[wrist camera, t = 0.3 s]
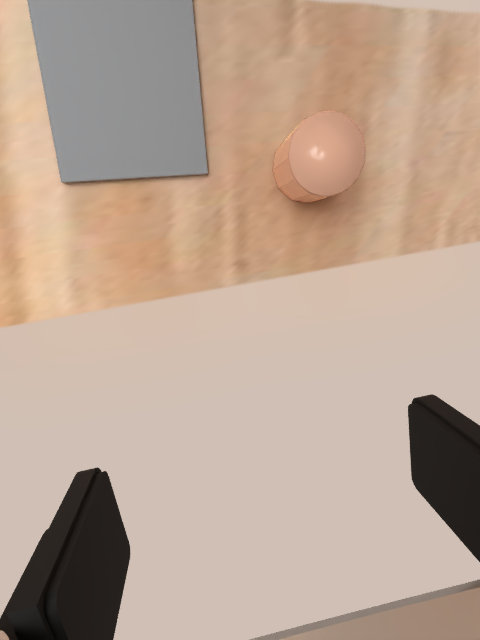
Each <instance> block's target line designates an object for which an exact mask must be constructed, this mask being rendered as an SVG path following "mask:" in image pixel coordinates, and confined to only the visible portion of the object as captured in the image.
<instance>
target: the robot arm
mask: <svg viewBox="0 0 480 640" xmlns="http://www.w3.org/2000/svg"><path fill="white" fill-rule="evenodd" d="M408 417H409V436H410V455H411V472H412V480H413V483H414V485H415V487H416V489H417V490H418V491H419V492H420V494H421V495H422V496H423V497H424V498H425V499H426V501H427V502H428V503H429V504H430V505H431V506H432V507H433V509H434V510H435V511H436V512H437V513H438V514H439V516H440V517H441V518H442V519H443V520H444V521H445V522H446V524H447V525H448V526H449V527H450V528H451V529H452V531H453V532H454V533H455V534H456V535H457V536H458V537H459V539H460V540H461V541H462V542H463V543H464V545H465V546H466V547H467V548H468V549H469V550H470V551H471V552H472V554H473V555H474V556H475V557H476V558H477V559H478V561H479V562H480V426H479V425H478V424H477V423H475V422H474V421H472V420H471V419H469V418H467V417H466V416H464V415H463V414H462V413H460V412H459V411H457V410H456V409H454V408H453V407H451V406H450V405H448V404H447V403H445V402H444V401H442V400H441V399H440V398H438V397H437V396H435V395H427V396H422V397H418V398H414V399H413V401H412V404H410V405H409V406H408ZM129 560H130V545H129V541H128V538H127V535H126V531H125V528H124V525H123V522H122V518H121V515H120V512H119V509H118V505H117V502H116V499H115V496H114V492H113V489H112V486H111V482H110V479H109V476H108V474H107V472H106V471H104V472H101V470H100V469H99V468H94V469H89V470H85V471H80V472H78V473H77V474H76V475H75V477H74V479H73V481H72V483H71V485H70V487H69V489H68V491H67V493H66V495H65V497H64V499H63V501H62V504H61V505H60V507H59V509H58V511H57V513H56V515H55V517H54V519H53V521H52V523H51V525H50V527H49V529H47V530H46V531H45V533H44V534H43V536H42V538H41V540H40V541H39V543H38V545H37V547H36V549H35V551H34V553H33V555H32V557H31V559H30V561H29V563H28V565H27V567H26V569H25V571H24V573H23V575H22V577H21V579H20V581H19V583H18V585H17V587H16V589H15V590H14V592H13V594H12V597H11V598H10V600H9V602H8V604H7V606H6V608H5V610H4V612H3V614H2V616H1V618H0V640H113V638H114V633H115V628H116V623H117V618H118V614H119V609H120V604H121V598H122V594H123V589H124V584H125V579H126V574H127V570H128V565H129ZM251 640H480V580H477V581H473V582H468V583H465V584H461V585H457V586H453V587H449V588H445V589H441V590H437V591H434V592H430V593H426V594H422V595H418V596H414V597H410V598H406V599H402V600H398V601H394V602H390V603H387V604H383V605H379V606H375V607H371V608H368V609H364V610H360V611H356V612H352V613H348V614H345V615H341V616H337V617H334V618H329V619H326V620H322V621H318V622H314V623H311V624H307V625H303V626H299V627H296V628H292V629H288V630H284V631H280V632H276V633H273V634H269V635H265V636H261V637H258V638H254V639H251Z"/></svg>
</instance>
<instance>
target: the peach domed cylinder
mask: <svg viewBox="0 0 480 640" xmlns="http://www.w3.org/2000/svg"><path fill="white" fill-rule="evenodd" d="M365 152H366V150H365V142H364V138H363V135H362V133H361V131H360V129H359V127H358V126H357V124H356V123H355V122H354V121H353V120H352V119H351V118H350V117H348V116H347V115H345V114H343V113H340V112H337V111H321V112H318V113H315V114H313V115H311V116H310V117H308V118H305V119H304V120H303V121H302V122H301V123H300V124H299V125H298V126H297V127H296V128H295V129H294V130H293V131H292V132H291V133H290V134H289V135H288V137H287V138H286V139H285V140H284V142H283V143H282V144H281V146H280V147H279V148H278V149H277V151H276V153H275V159H274V165H273V173H274V176H275V179H276V182H277V185H278V188H279V189H280V190H281V191H282V192H283V193H284V194H285V195H287V196H288V197H289V198H290V199H291V200H295V201H301V202H307V203H308V202H312V201H316V200H320V199H324V198H327V197H330V196H333V195H335V194H338V193H340V192H342V191H345V190H347V188H349V187H350V186H351V185H352V184H353V183H354V182H355V181H356V179H357V178H358V176H359V175H360V173H361V171H362V168H363V165H364V161H365Z"/></svg>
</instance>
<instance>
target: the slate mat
mask: <svg viewBox="0 0 480 640" xmlns="http://www.w3.org/2000/svg"><path fill="white" fill-rule="evenodd" d="M27 1H28V7H29V12H30V17H31V23H32V28H33V33H34V39H35V44H36V49H37V55H38V60H39V66H40V71H41V76H42V82H43V87H44V92H45V98H46V103H47V108H48V114H49V119H50V124H51V130H52V135H53V141H54V146H55V151H56V157H57V162H58V167H59V173H60V178H61V182H63V183H75V182H91V181H108V180H125V179H141V178H158V177H174V176H191V175H207V174H208V171H207V159H206V148H205V137H204V126H203V115H202V104H201V93H200V82H199V70H198V59H197V48H196V37H195V26H194V15H193V4H192V0H27Z"/></svg>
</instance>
